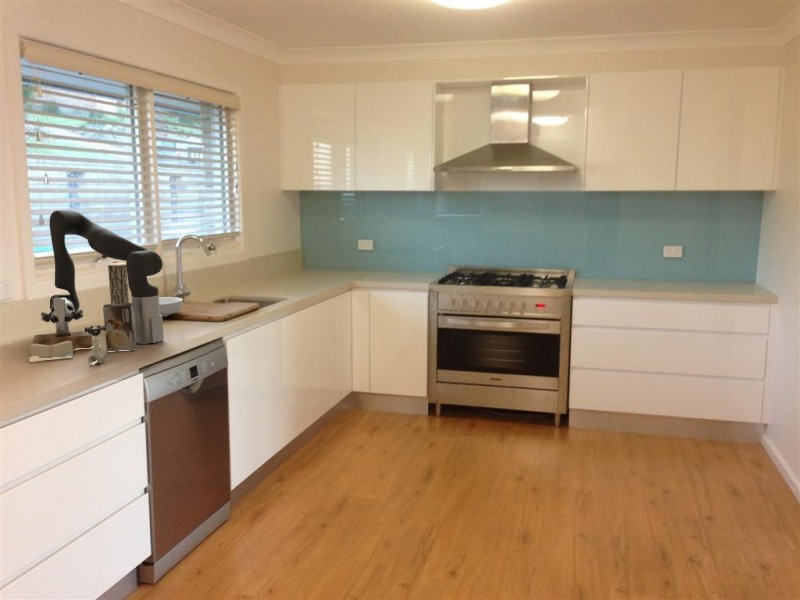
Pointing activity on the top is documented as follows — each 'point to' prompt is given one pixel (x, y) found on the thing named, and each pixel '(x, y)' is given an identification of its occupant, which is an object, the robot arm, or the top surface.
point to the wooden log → (118, 283)
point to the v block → (52, 350)
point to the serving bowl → (169, 305)
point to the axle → (61, 317)
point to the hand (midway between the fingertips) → (61, 319)
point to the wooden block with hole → (66, 339)
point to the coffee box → (119, 327)
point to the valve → (96, 344)
